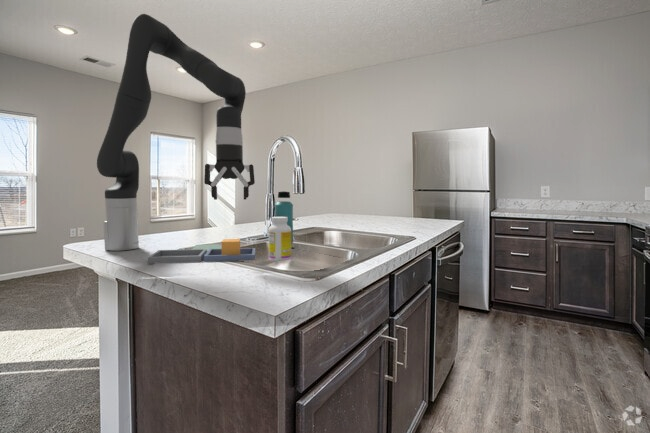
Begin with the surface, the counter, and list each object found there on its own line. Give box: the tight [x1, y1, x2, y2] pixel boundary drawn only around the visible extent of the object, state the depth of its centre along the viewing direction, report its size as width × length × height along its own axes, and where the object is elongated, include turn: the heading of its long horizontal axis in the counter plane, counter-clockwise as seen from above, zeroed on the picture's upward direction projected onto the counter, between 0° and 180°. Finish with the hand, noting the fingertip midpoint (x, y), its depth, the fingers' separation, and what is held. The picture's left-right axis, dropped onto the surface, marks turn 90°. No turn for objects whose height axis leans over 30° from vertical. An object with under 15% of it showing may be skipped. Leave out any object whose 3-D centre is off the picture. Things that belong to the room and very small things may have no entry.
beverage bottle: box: [273, 191, 294, 247], centre depth 119 cm, size 6×7×20 cm
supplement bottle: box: [268, 216, 292, 262], centre depth 103 cm, size 7×7×13 cm
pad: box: [192, 243, 222, 252], centre depth 117 cm, size 12×12×1 cm
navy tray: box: [203, 247, 256, 262], centre depth 105 cm, size 14×11×2 cm
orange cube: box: [220, 238, 241, 255], centre depth 105 cm, size 5×5×5 cm
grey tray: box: [146, 248, 207, 266], centre depth 103 cm, size 14×11×2 cm
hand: (230, 199), depth 104 cm, fingers open, 8 cm apart
